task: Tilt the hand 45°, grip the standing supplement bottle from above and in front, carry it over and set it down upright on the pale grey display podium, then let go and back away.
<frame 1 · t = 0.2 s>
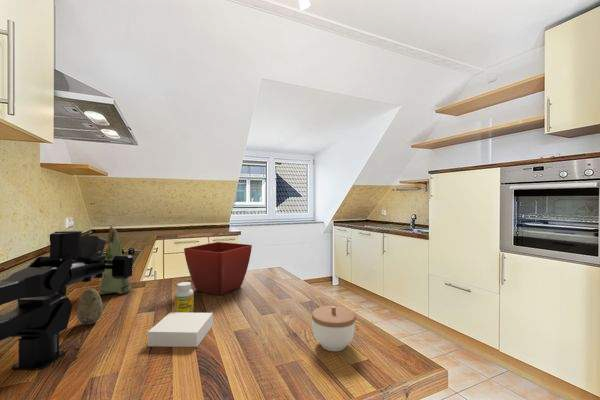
hand: (117, 260, 89), 17 cm above the worktop, tool horizontal, fingers open, 9 cm apart
plant pot: (218, 289, 115), on the worktop
decorative egg: (90, 324, 82), on the worktop
supplement bottle: (184, 315, 89), on the worktop
lidded jar: (333, 345, 71), on the worktop
pouch: (113, 292, 109), on the worktop
podium: (182, 334, 76), on the worktop
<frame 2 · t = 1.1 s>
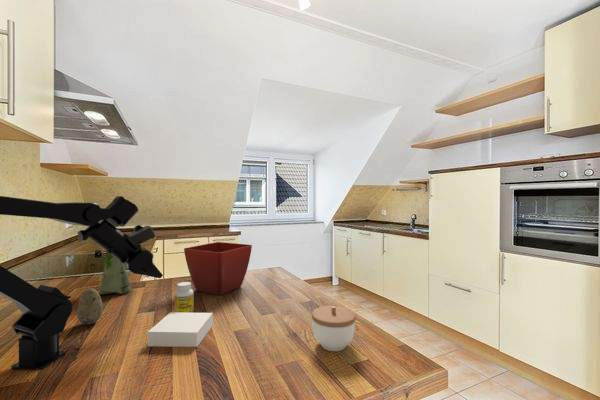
hand: (157, 273, 84), 14 cm above the worktop, tool tilted 45°, fingers open, 9 cm apart
nothing on the worktop moved.
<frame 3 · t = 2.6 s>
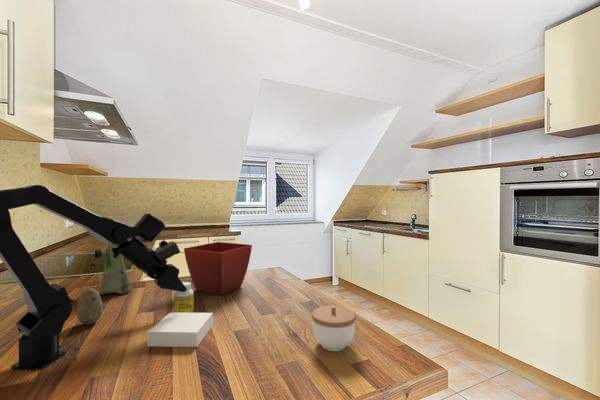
hand: (180, 286, 88), 9 cm above the worktop, tool tilted 45°, fingers open, 9 cm apart
nothing on the worktop moved.
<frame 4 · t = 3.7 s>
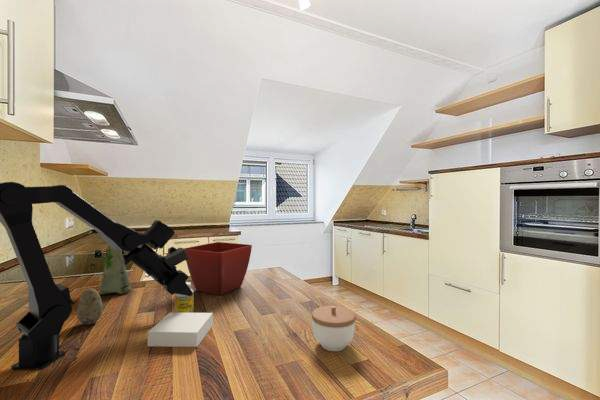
hand: (189, 292, 90), 7 cm above the worktop, tool tilted 45°, fingers closed on supplement bottle, 5 cm apart
supplement bottle: (184, 315, 89), on the worktop, touching gripper
everything else where it was.
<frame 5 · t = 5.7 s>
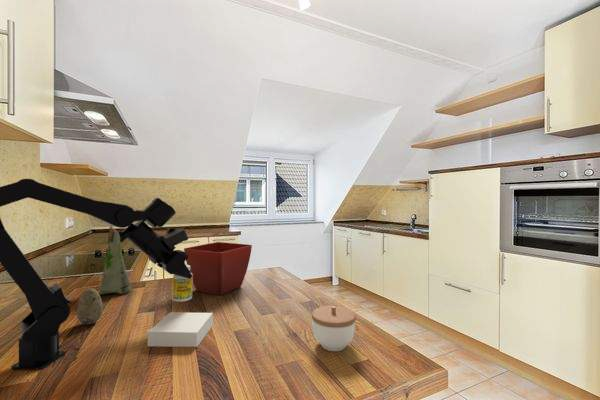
hand: (187, 275, 86), 13 cm above the worktop, tool tilted 45°, fingers closed on supplement bottle, 5 cm apart
supplement bottle: (182, 299, 85), point 6 cm above the worktop, touching gripper
everything else where it was.
when the fingers open (11 cm above the worktop, at t = 7.6 s): supplement bottle stays where it is, resting on podium.
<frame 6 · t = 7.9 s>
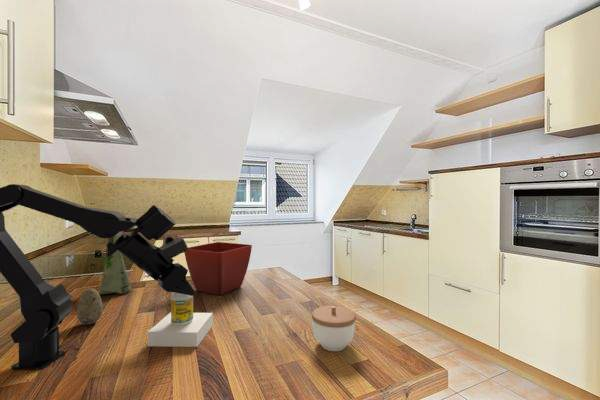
hand: (188, 289, 77), 12 cm above the worktop, tool tilted 45°, fingers open, 8 cm apart
supplement bottle: (182, 322, 76), point 3 cm above the worktop, touching podium
everything else where it was.
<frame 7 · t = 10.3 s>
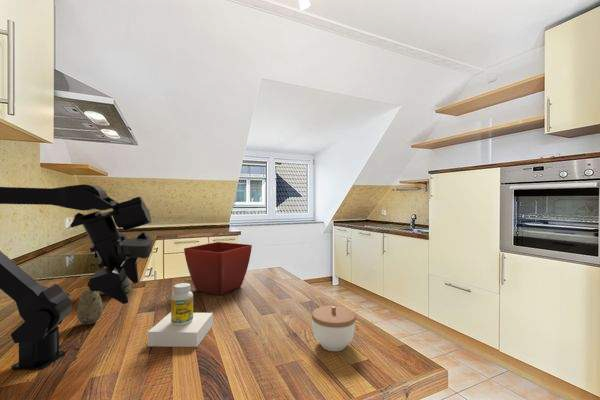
hand: (131, 292, 72), 12 cm above the worktop, tool tilted 20°, fingers open, 9 cm apart
nothing on the worktop moved.
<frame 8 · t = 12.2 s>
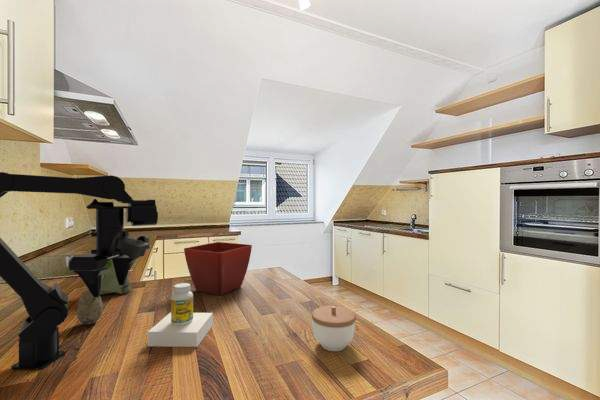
hand: (109, 290, 71), 13 cm above the worktop, tool pointing down, fingers open, 9 cm apart
nothing on the worktop moved.
at the end: supplement bottle inside the target area on the podium (0.2 cm from its centre), point 3.3 cm above the podium's base; supplement bottle tilted 0°; the gripper is holding nothing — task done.
